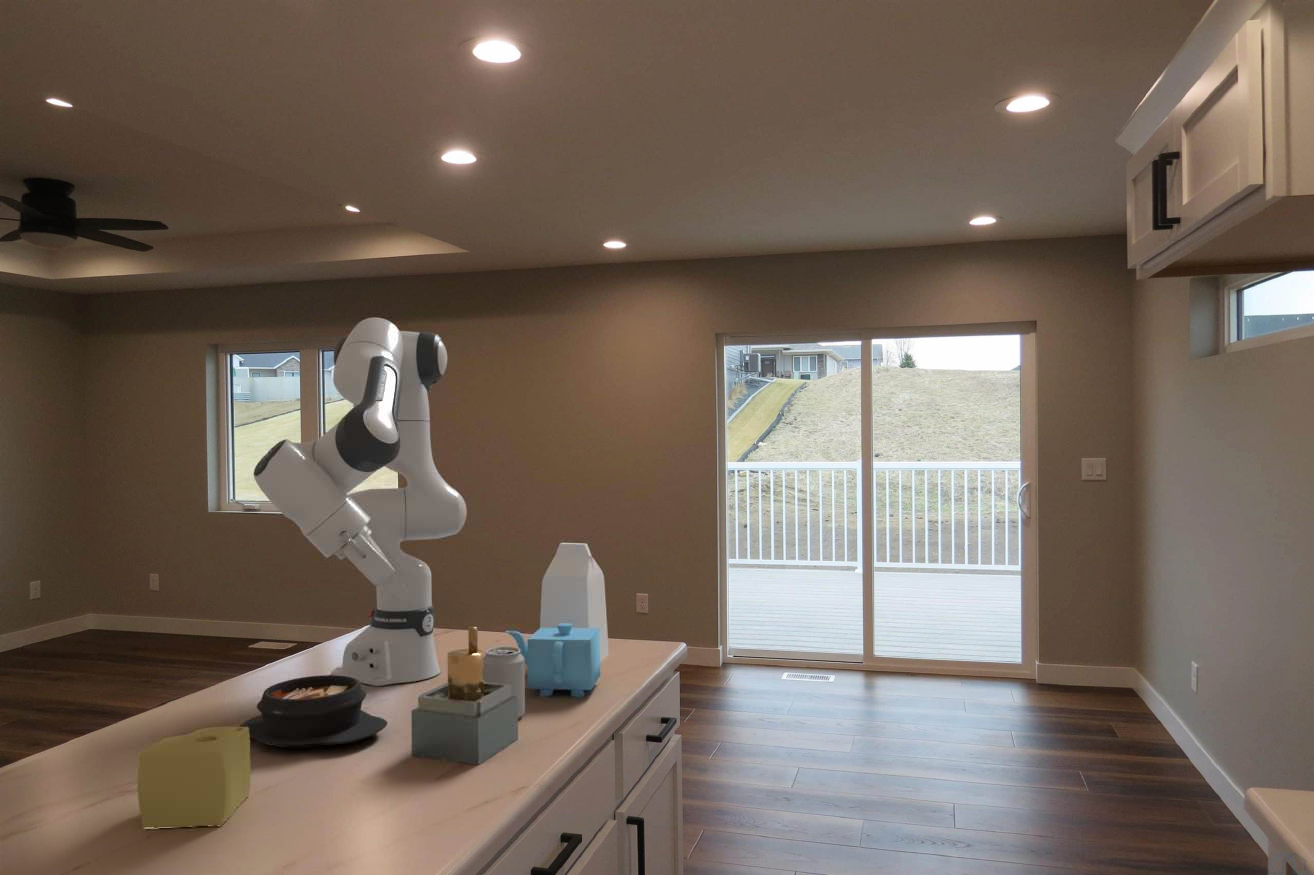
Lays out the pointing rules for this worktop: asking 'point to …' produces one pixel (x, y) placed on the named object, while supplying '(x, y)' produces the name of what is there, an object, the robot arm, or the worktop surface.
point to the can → (506, 671)
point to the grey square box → (464, 724)
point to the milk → (575, 592)
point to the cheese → (194, 778)
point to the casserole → (313, 713)
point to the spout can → (466, 671)
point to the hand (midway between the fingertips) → (402, 593)
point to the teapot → (561, 658)
